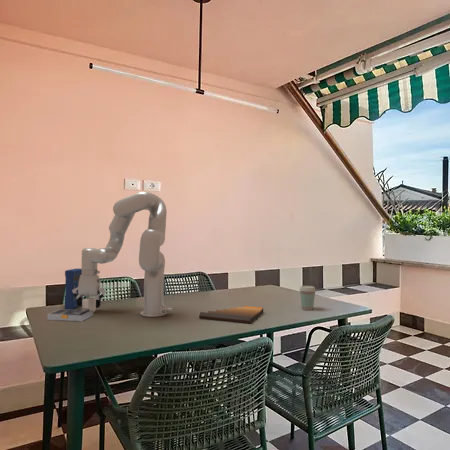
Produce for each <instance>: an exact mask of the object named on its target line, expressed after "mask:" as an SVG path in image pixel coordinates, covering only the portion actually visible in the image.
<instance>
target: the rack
mask: <svg viewBox="0 0 450 450" xmlns="http://www.w3.org/2000/svg"><path fill="white" fill-rule="evenodd" d="M93 316H94V312H93V310H89V308H83V309H82V308H81V309H76V308H73V309H65V308H60V309H57V310H54V311H51V312H49V313H47V316H46V317H47V318H46V319H47V321H68V322H69V321H70V322H84V321H85V320H87V319H89V318H91V317H93Z"/></svg>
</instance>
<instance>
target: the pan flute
mask: <svg viewBox="0 0 450 450" xmlns="http://www.w3.org/2000/svg"><path fill="white" fill-rule="evenodd" d="M263 313H264V308H263V307H261V306H247V305H243V306H236V308H235V307H230V308H229V309H227V308H223V309H222V310H221V309H220V310H219V309H215V311H211V310H208V311H207V312H202V311H201V312H199V314H198V315H199V316H198V319H200V320H209V321H210V320H212V321H217V322H218V321H220V322H229V323H237V324H238V323H239V324H247V325H248V324H249V325H250V324H252V323H253V322H254V321H256V320H257V318H260V316H261V315H263Z"/></svg>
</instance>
